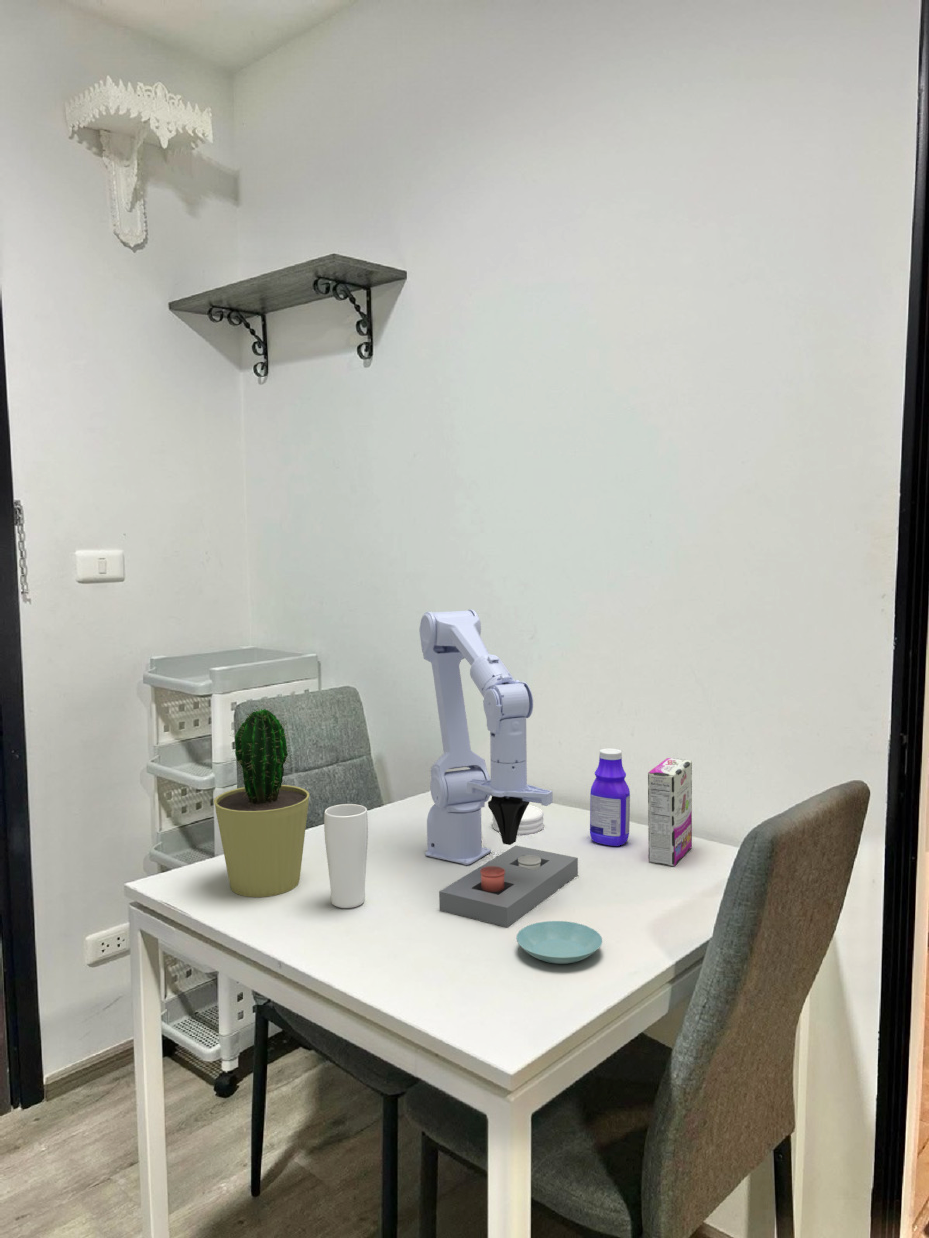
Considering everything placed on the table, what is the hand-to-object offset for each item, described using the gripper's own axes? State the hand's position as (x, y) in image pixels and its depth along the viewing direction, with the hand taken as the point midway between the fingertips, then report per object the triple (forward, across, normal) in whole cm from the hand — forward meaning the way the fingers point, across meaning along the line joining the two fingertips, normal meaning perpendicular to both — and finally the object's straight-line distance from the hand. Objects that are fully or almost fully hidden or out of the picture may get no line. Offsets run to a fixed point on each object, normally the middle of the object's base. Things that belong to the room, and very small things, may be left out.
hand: (509, 842), depth 147 cm
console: (+8, 0, +1) cm, 9 cm away
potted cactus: (+9, -37, -16) cm, 42 cm away
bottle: (+9, +4, +31) cm, 32 cm away
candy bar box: (+9, +16, +30) cm, 35 cm away
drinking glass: (+9, -20, -16) cm, 27 cm away
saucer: (+9, +16, -14) cm, 23 cm away
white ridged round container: (+9, -15, +30) cm, 35 cm away
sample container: (+8, 0, +7) cm, 10 cm away
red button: (+6, 0, -5) cm, 8 cm away
